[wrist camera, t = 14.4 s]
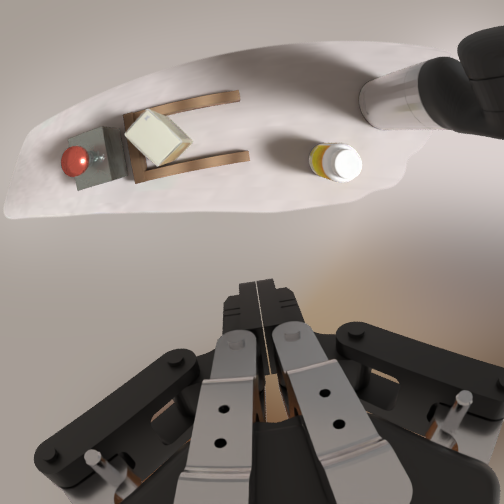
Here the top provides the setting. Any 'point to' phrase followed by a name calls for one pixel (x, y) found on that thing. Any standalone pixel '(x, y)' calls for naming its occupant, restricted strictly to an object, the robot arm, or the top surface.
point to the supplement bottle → (335, 161)
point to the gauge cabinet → (101, 156)
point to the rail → (144, 174)
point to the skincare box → (158, 137)
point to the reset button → (76, 161)
